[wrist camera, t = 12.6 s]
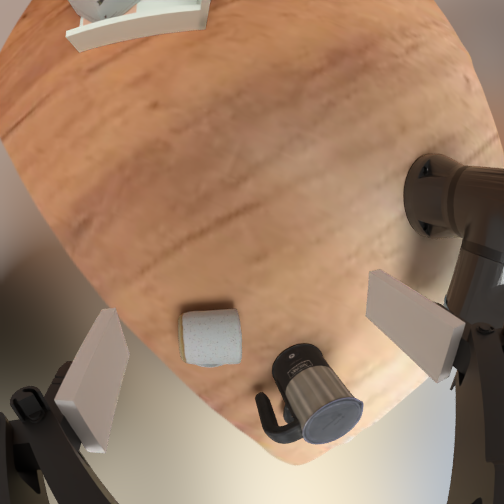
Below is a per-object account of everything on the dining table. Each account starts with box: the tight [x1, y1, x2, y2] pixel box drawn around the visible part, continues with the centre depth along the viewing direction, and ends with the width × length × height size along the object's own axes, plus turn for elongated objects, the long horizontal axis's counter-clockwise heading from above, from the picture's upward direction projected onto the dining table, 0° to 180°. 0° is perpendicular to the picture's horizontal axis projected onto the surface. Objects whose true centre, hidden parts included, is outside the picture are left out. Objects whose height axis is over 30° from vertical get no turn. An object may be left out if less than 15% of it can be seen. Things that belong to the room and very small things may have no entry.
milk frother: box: [255, 344, 363, 444], centre depth 42 cm, size 14×16×15 cm
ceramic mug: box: [178, 309, 242, 367], centre depth 39 cm, size 11×8×8 cm
